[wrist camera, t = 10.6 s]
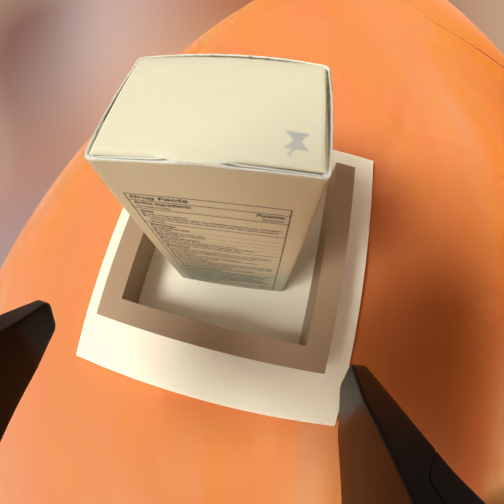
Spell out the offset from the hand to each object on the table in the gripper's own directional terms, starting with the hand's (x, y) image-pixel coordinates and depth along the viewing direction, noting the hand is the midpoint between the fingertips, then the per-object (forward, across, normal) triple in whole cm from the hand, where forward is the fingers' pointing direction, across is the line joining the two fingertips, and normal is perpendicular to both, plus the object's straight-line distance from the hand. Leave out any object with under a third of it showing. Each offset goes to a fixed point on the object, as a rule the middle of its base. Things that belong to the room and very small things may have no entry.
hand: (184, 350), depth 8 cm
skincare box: (+11, 0, +2) cm, 11 cm away
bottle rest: (+11, 0, +2) cm, 12 cm away
